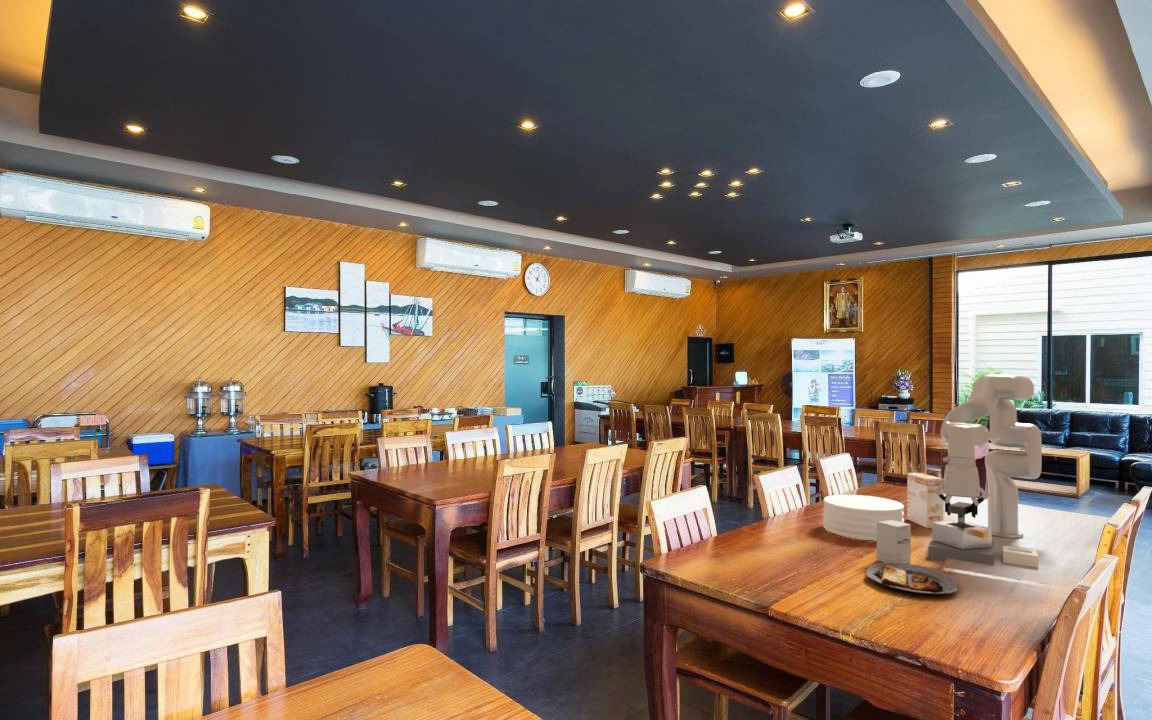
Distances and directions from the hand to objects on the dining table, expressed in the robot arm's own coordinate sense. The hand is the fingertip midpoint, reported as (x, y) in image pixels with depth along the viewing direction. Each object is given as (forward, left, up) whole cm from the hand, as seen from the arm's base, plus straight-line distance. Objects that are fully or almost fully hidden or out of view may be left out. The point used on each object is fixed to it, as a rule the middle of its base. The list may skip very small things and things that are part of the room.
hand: (961, 515), depth 209 cm
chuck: (+1, +1, -9) cm, 9 cm away
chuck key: (0, 0, -8) cm, 8 cm away
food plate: (+40, -11, -14) cm, 44 cm away
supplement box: (+20, -18, -14) cm, 30 cm away
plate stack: (-15, -33, -14) cm, 39 cm away
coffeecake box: (-43, -14, -14) cm, 47 cm away
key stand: (0, +16, -14) cm, 21 cm away
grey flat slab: (0, 0, -14) cm, 14 cm away
